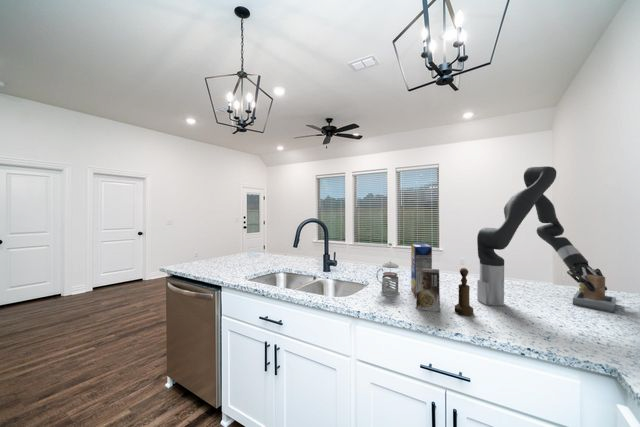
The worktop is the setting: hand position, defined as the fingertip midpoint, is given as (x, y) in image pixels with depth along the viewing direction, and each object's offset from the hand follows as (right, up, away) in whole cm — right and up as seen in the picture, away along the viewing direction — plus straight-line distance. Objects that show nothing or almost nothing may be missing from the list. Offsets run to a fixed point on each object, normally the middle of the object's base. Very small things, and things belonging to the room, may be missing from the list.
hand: (599, 290), depth 113 cm
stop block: (0, -4, +2) cm, 5 cm away
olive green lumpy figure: (+13, -7, +16) cm, 22 cm away
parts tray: (0, -7, +2) cm, 7 cm away
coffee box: (-74, -7, -1) cm, 74 cm away
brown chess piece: (-62, -7, -7) cm, 63 cm away
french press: (-86, -7, +18) cm, 88 cm away
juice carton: (-70, -7, +18) cm, 72 cm away
